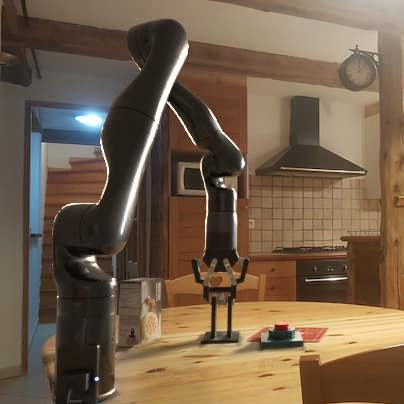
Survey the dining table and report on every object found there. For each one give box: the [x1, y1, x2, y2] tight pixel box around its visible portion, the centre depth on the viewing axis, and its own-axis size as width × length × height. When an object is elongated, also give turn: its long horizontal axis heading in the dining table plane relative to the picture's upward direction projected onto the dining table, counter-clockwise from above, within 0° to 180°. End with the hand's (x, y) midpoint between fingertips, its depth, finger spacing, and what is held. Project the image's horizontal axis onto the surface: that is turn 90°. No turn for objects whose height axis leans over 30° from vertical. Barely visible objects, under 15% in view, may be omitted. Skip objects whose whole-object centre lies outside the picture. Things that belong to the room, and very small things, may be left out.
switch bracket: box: [200, 293, 241, 344], centre depth 134 cm, size 12×9×12 cm
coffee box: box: [117, 277, 163, 348], centre depth 131 cm, size 9×6×16 cm
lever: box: [209, 286, 231, 309], centre depth 130 cm, size 12×5×2 cm, turn 12°
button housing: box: [260, 326, 305, 349], centre depth 130 cm, size 12×10×4 cm
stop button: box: [273, 321, 290, 331], centre depth 130 cm, size 4×4×2 cm
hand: (220, 300), depth 126 cm, fingers closed on lever, 5 cm apart
